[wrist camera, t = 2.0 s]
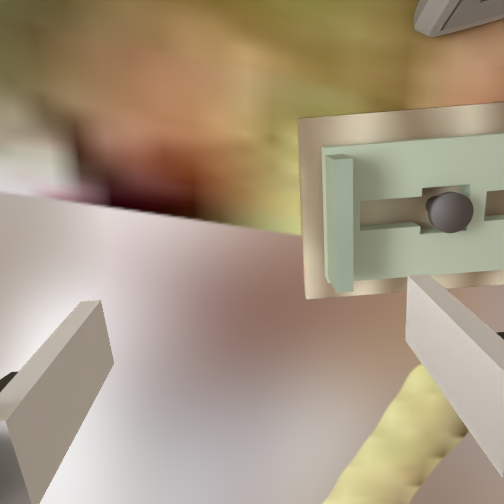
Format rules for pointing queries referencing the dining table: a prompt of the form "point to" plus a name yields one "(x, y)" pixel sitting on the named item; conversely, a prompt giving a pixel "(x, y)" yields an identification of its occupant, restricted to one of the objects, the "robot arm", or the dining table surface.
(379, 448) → the dining table surface
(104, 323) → the robot arm
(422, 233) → the panel
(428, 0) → the digital clock
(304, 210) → the board
